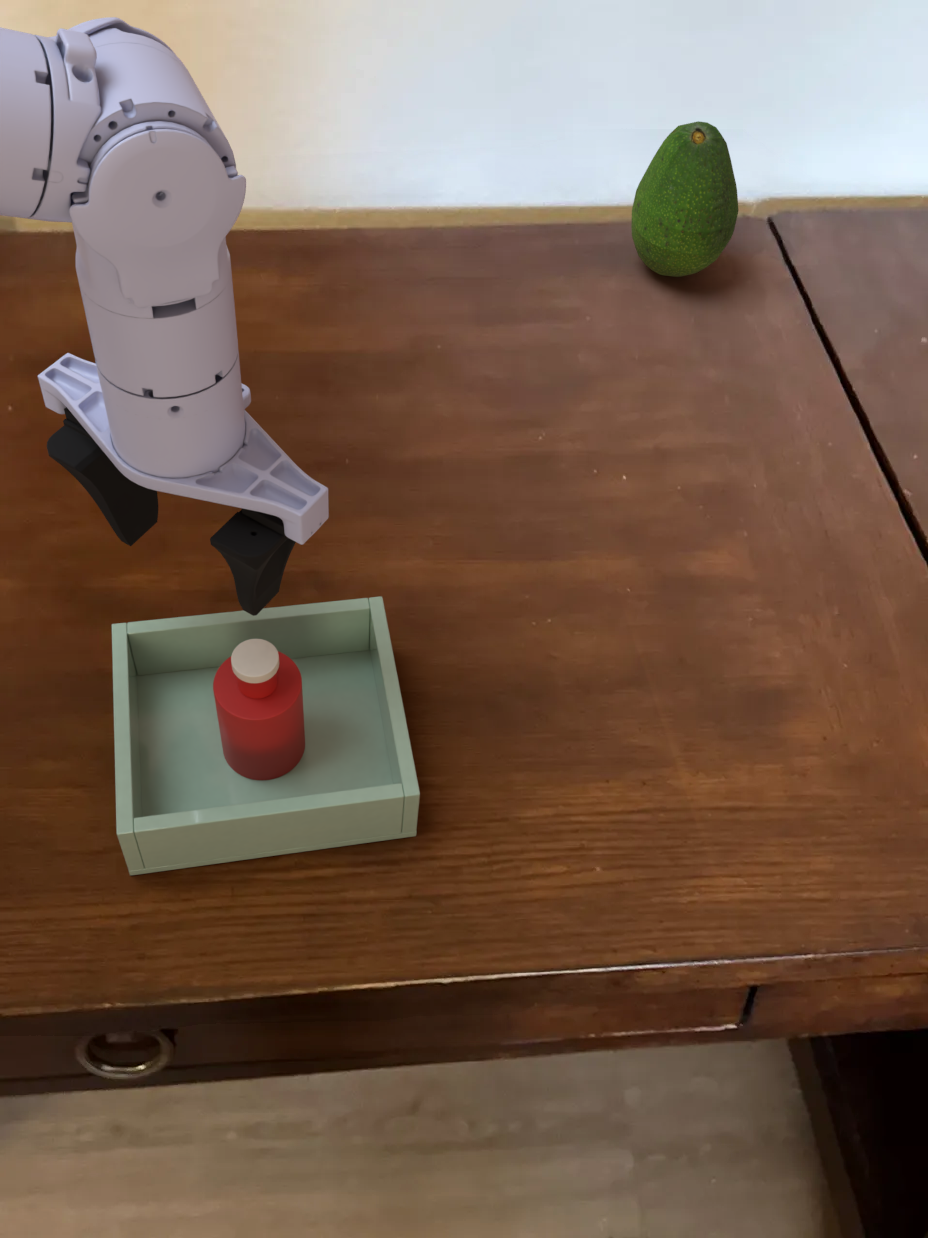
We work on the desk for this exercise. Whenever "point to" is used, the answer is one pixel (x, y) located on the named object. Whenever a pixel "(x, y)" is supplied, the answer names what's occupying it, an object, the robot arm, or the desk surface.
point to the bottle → (260, 711)
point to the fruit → (685, 202)
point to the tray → (192, 748)
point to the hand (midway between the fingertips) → (199, 565)
